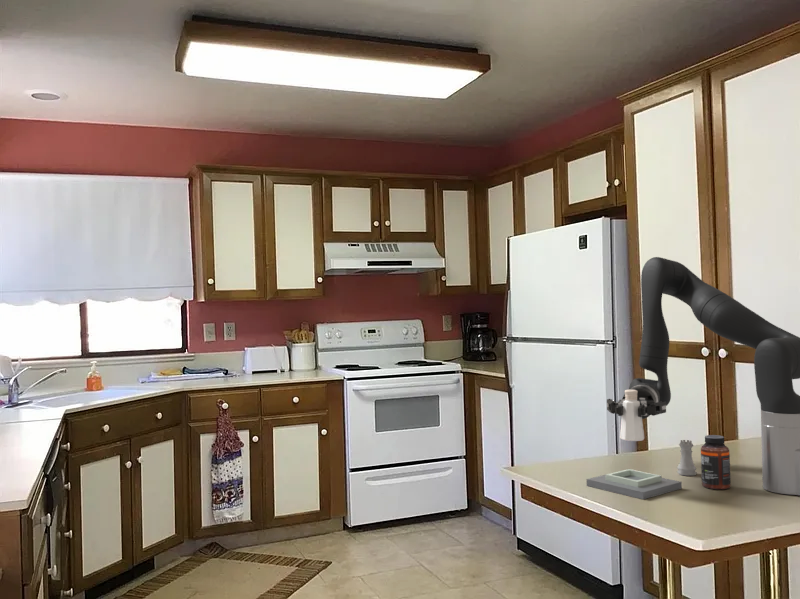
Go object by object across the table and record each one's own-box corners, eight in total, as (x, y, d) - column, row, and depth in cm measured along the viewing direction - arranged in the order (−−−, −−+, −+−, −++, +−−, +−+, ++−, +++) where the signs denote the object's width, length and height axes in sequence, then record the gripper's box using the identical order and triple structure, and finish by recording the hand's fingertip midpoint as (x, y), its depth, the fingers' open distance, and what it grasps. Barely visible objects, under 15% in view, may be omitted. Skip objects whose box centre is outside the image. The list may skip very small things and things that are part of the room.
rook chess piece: (698, 476, 169) (697, 442, 169) (678, 476, 170) (677, 442, 170) (694, 472, 173) (693, 439, 173) (675, 471, 174) (674, 439, 174)
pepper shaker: (636, 442, 157) (634, 392, 157) (614, 438, 161) (613, 390, 161) (649, 438, 160) (648, 389, 160) (628, 435, 164) (627, 388, 164)
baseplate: (681, 488, 158) (681, 476, 158) (643, 499, 150) (642, 486, 150) (625, 476, 170) (624, 465, 170) (586, 485, 162) (586, 473, 162)
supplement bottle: (732, 485, 160) (730, 435, 160) (729, 491, 155) (728, 439, 155) (703, 482, 163) (702, 433, 163) (699, 488, 158) (698, 437, 158)
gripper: (610, 384, 176) (596, 393, 161) (671, 386, 170) (663, 396, 155) (611, 415, 176) (597, 426, 161) (671, 418, 170) (663, 430, 155)
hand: (629, 411), depth 158 cm, fingers closed on pepper shaker, 3 cm apart
